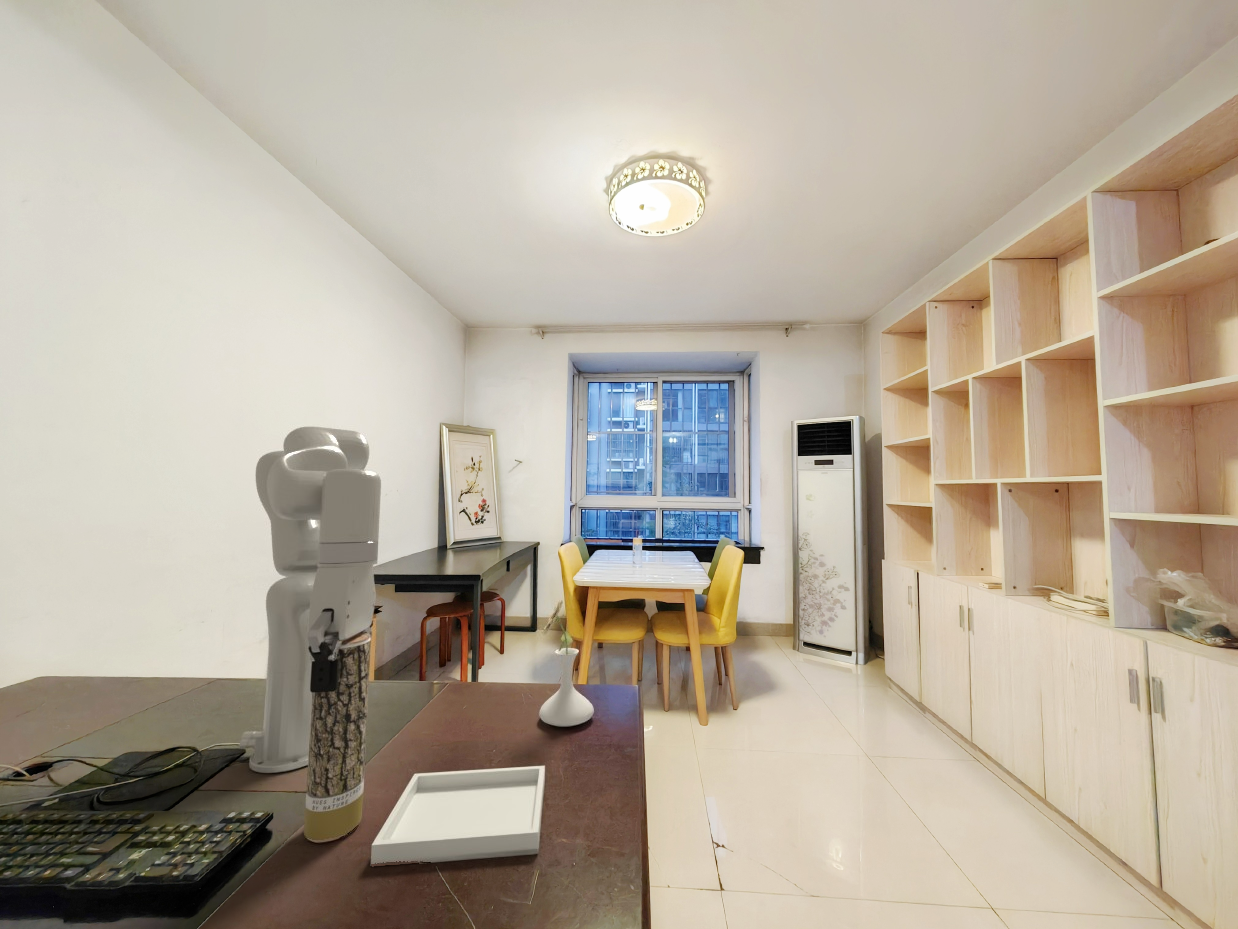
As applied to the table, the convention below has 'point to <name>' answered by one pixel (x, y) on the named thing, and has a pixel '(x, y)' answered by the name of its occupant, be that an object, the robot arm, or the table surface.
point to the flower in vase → (565, 686)
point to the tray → (464, 816)
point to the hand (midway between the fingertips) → (342, 678)
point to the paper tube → (339, 746)
